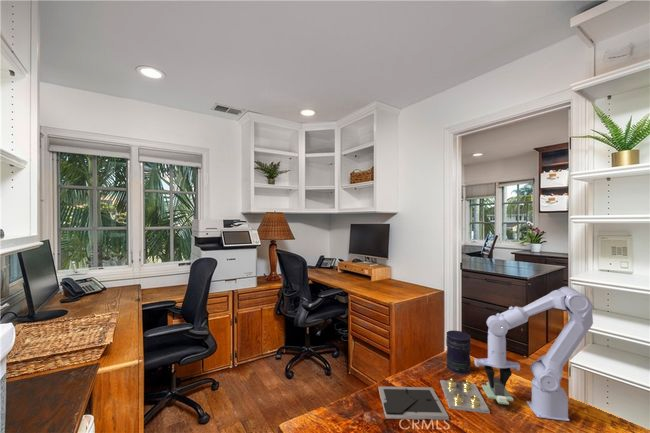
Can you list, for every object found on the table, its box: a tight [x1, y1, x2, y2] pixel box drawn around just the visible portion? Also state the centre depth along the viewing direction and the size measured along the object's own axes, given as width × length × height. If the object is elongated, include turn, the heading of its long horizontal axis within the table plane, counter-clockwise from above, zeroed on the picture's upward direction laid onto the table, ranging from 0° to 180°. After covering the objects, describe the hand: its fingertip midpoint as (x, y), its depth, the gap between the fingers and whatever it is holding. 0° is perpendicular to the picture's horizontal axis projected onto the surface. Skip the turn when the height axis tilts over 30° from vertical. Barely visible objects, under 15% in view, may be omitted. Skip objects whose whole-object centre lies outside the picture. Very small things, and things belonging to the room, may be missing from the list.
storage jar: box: [445, 330, 472, 375], centre depth 126 cm, size 10×10×15 cm
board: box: [481, 376, 514, 405], centre depth 104 cm, size 8×12×5 cm, turn 169°
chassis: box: [439, 377, 491, 414], centre depth 106 cm, size 13×16×4 cm
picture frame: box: [378, 385, 450, 421], centre depth 102 cm, size 16×3×21 cm
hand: (496, 387), depth 104 cm, fingers closed on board, 3 cm apart
